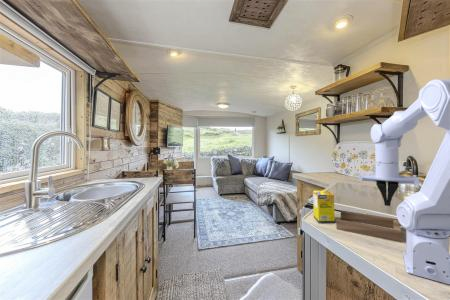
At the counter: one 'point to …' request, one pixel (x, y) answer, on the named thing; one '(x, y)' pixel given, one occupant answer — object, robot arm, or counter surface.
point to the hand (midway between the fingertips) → (387, 204)
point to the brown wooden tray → (369, 229)
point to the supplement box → (323, 206)
